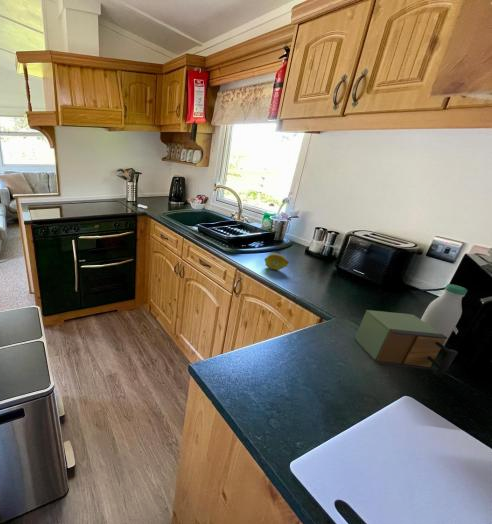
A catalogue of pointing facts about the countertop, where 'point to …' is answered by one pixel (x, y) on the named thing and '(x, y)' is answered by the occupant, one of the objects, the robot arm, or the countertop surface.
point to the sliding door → (429, 353)
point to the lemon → (276, 261)
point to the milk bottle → (445, 310)
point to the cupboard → (392, 336)
